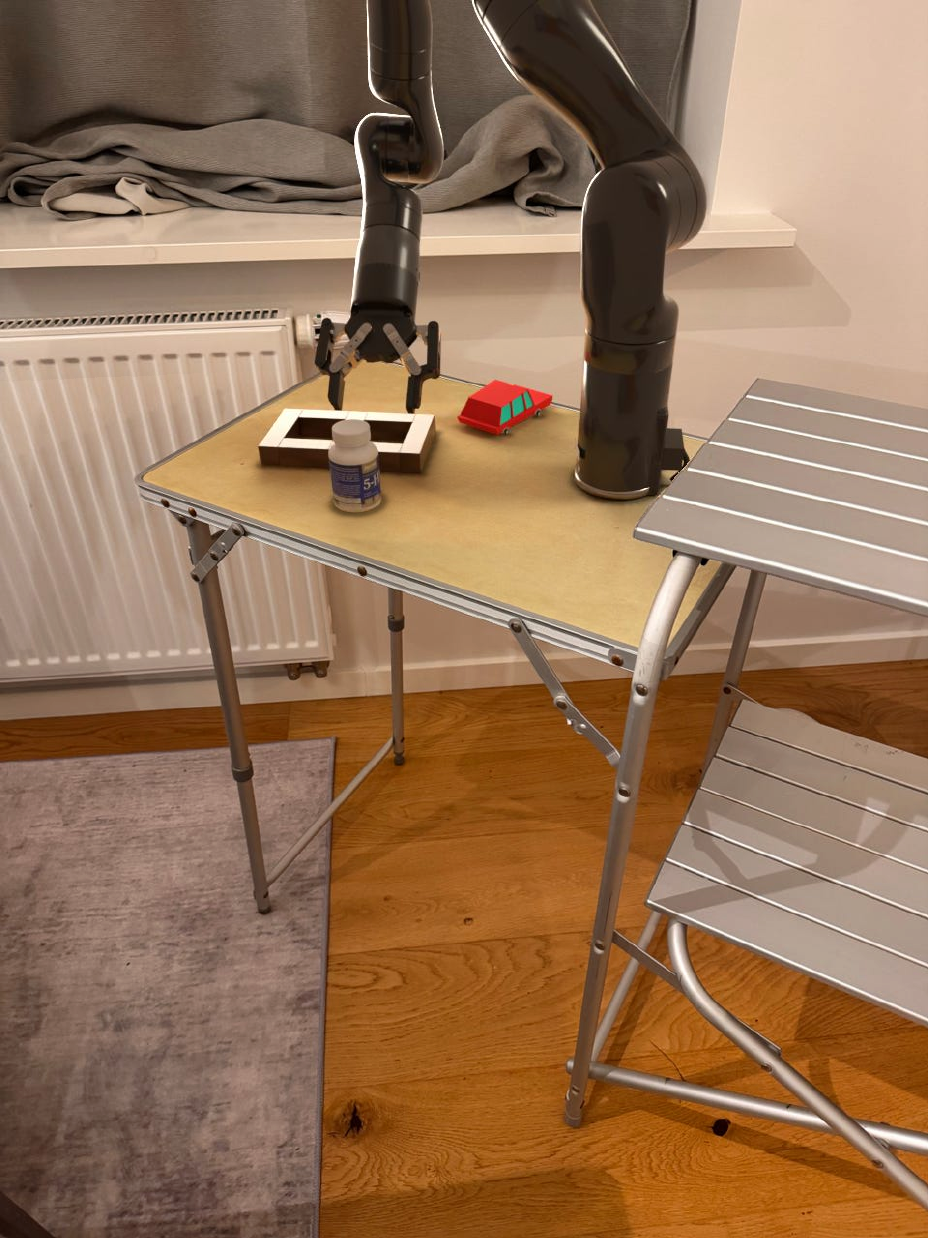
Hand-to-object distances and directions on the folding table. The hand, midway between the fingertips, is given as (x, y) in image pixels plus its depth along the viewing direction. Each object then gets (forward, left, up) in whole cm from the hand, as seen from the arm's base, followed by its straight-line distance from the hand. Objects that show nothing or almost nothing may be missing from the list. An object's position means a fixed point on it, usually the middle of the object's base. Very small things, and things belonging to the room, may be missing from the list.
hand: (373, 409), depth 103 cm
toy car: (-14, -14, -7) cm, 21 cm away
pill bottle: (0, +10, -7) cm, 12 cm away
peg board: (+4, -3, -7) cm, 8 cm away
